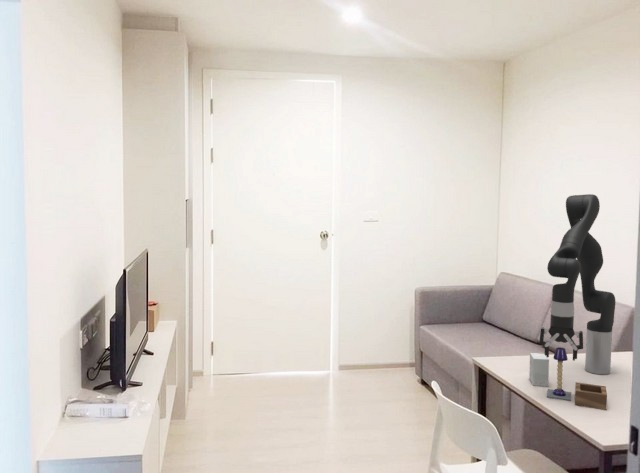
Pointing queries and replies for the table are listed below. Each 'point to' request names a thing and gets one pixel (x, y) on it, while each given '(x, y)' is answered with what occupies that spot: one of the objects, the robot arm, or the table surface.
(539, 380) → the small box
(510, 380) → the table surface
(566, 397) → the slate pad
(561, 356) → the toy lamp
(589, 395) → the wooden cube shelf
